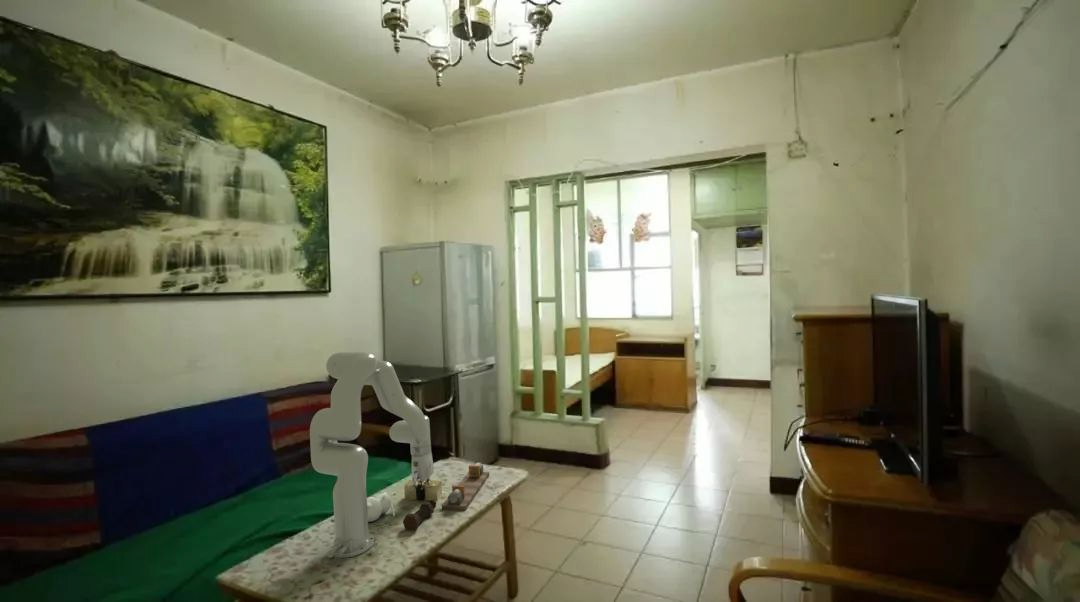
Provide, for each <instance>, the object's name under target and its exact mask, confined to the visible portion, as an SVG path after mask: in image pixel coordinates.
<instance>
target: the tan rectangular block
mask: <svg viewBox="0 0 1080 602" xmlns="http://www.w3.org/2000/svg"><path fill="white" fill-rule="evenodd" d="M418 484H420V485H421V483H418ZM442 487H443V486H442V480H430V481H429V480H426V481H425V482H424V483H423V489H424V491H425V499H424V500H423V501H430V500H432V501H438V500H439V499H440V498H441V497H442V496H441V495H443V489H442ZM403 488H404V489H403V490H404V500H408V501H409V500H410V501H411V500H413V501H418V500H417V499H416V490H415V487H414V486H413V481H412V479H411V480H410V479H409V480H408V481H407V482H406V483H405V484H403ZM440 496H441V497H440Z"/></svg>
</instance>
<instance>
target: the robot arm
mask: <svg viewBox="0 0 1080 602" xmlns="http://www.w3.org/2000/svg"><path fill="white" fill-rule="evenodd" d="M325 367H326V368H325V369H326V371H327V374H328V375H329V376H330V377H332V379H333V378H334V379H336V382H335V384H334V386H333V387H332V390H331V393H330V407H326V408H322V409H319V410H318V411H316V413H315V414H314V415H313V417H312V419H311V422H310V426H309V441H310V442H309V443H310V461H311V465H312V467H313V469H314V471H316V472H317V473H320V474H324V475H330V476H336V477H337V479H336V482H335V484H334V486H333V490H332V500H333V502H332V503H333V518H334V519H333V520H334V535H335V536H334V537H335V539H334V540H333V541H334V542H333V543H332V544H331V545H330V548H329V550H328V551H327V553H326V555H327V557H328V558H333V557H335V558H340V559H342V558H343V559H345V558H351V557H355V556H359V555H360V554H364V553H365V552H366V551H368V550H369V549H371V547H373V545H374V544H375V535H373V533H371V532H370V529H369V522H368V511H367V498H368V496H367V469H368V463H369V455H368V452H367V450H366V449H365V448H364V447H362V446H361V445H359V444H355V443H354V444H353V443H347V442H348V441H349V442H350V441H354V440H356V439H357V438H358V437H359V436H360V434H361V432H362V405H361V401H362V400H361V398H362V397H361V396H362V395H361V394H362V390H363V388H364V387H365V386H371V387H372V388H373V390H374V392H375V394H376V397H377V399H378V402H379V404H380V406H381V408H383V409H384V410H386V411H387V412H389V413H391V414H393V415H395V416H397V417H399V418H401V419H403V420H398V421H396V422H394V423H393V424H392V426H391V427H389V432H388V434H389V438H390V439H391V440H392V441H394V442H395V443H403V444H409V445H410V455H411V480H412V481H413V486H414V487H415V490H416V499H417V500H416V501H425V500H424V499H425V491H424V489H423V483H424V482H425V481H426V480H429V481H431V477H432V475H433V474H434V471H435V470H434V461H433V453H432V443H431V428H430V426H431V425H430V417H428V415H425V414H424V412H423V411H422V409H420V408H419V406H418V405H417V404H415V403H414V401H413V400H411V399H410V398H409V397H407V396H406V395H405V392H404V390H403V387H402V385H401V383H400V380H399V378H398V376H397V372H396V371H395V367H394V365H392V364H391V362H389V361H387V360H377V357H376V356H375V355H374V354H372V353H369V352H365V351H363V352H359V351H357V352H356V351H351V352H349V351H347V352H344V351H342V352H335V353H334V354H333V353H332V354H331V356H329V357H328V359H327V361H326V366H325ZM338 441H341V442H338ZM342 441H343V442H342ZM345 441H346V443H345ZM418 483H421V485H420V484H418Z"/></svg>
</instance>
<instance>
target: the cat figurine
mask: <svg viewBox="0 0 1080 602" xmlns="http://www.w3.org/2000/svg"><path fill="white" fill-rule="evenodd" d="M390 509H391V513H392V516H393V517H395V514H396V511H395V509H394V507H393V505H392V499H391V496H390V495H389V494H388V493H387V492H386V491H383V493H382V492H381V493H379V494H377V495H376V496H375V497H374V496H369V497H367V511H368V523H370V522H375V521H377V520H378V519H379V518H380V517H381V515H382V514H385V513H387V512H388V511H389V510H390Z"/></svg>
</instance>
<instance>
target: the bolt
mask: <svg viewBox="0 0 1080 602" xmlns="http://www.w3.org/2000/svg"><path fill="white" fill-rule="evenodd" d="M436 507H437V502H436V501H435V500H428V501H424V502H422V503H421V505H420V507H419V509H417V511H415V512H414V513H410V512H408V513H406V515H405V517H404V518H403V521H402V523H403V527H404V529H405V530H406V531H410V532H412V531H413V532H414V531H416V530H417V529H418V528H419V526H420V523H421V522H422V520H423V519H424V518H425V517H430V516H431V515H432V514H433V511H434V510H435V508H436Z"/></svg>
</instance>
